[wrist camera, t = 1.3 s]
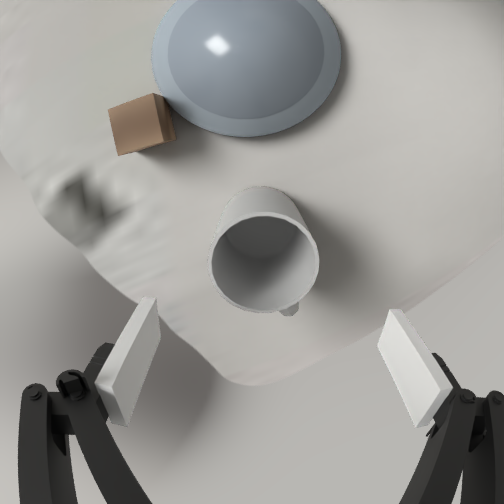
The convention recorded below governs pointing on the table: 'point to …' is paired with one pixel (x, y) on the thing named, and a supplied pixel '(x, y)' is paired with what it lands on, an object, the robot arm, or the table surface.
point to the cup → (263, 253)
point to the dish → (246, 63)
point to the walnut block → (141, 124)
